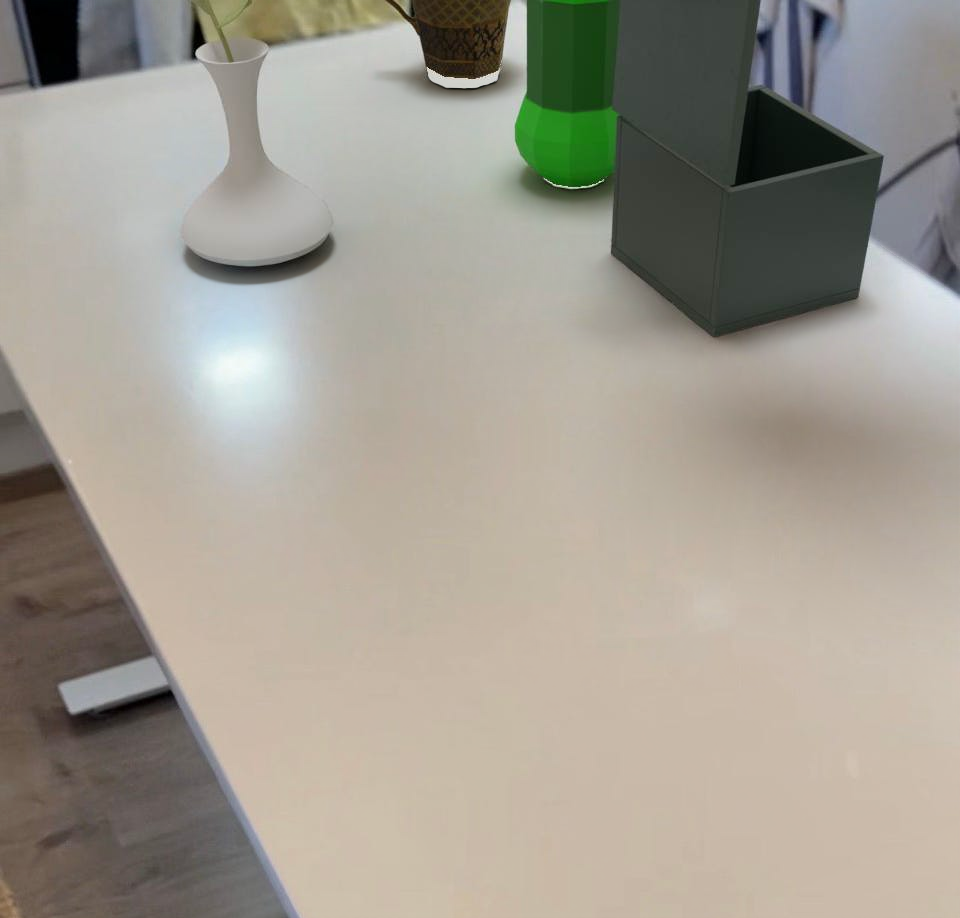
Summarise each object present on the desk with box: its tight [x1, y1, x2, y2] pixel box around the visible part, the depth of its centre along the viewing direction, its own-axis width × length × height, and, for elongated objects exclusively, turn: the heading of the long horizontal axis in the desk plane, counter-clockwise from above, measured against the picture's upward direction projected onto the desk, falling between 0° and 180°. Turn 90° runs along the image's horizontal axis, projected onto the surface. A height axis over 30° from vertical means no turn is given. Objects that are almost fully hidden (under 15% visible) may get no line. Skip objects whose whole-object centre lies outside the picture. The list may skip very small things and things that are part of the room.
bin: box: [610, 84, 885, 338], centre depth 97 cm, size 12×14×10 cm
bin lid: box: [612, 0, 762, 186], centre depth 87 cm, size 13×14×5 cm
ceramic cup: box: [384, 0, 512, 79], centre depth 125 cm, size 13×10×10 cm
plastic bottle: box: [514, 0, 620, 187], centre depth 104 cm, size 10×10×25 cm
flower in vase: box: [180, 0, 334, 267], centre depth 97 cm, size 13×11×25 cm
